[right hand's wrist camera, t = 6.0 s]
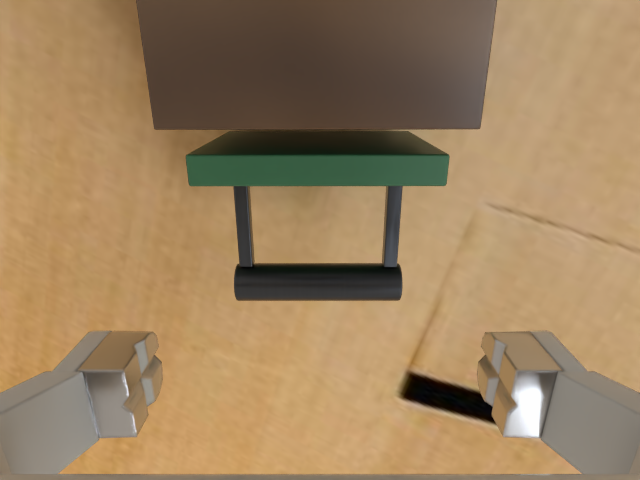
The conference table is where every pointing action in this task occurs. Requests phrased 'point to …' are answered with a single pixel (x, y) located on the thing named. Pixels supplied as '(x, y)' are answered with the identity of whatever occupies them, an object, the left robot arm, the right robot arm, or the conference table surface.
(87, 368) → the right robot arm
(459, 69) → the brown wooden drawer cabinet
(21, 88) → the conference table surface
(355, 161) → the drawer
